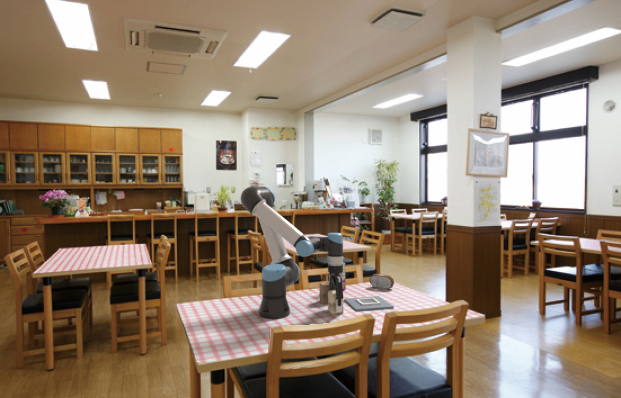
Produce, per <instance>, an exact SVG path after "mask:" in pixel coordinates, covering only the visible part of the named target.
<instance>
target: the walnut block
mask: <svg viewBox="0 0 621 398" xmlns="http://www.w3.org/2000/svg"><path fill="white" fill-rule="evenodd" d="M328 291H329V281H325V282H324V281H321V282H319V302H320V303H321V304H322V305H323V304H324V305H325V304H328Z"/></svg>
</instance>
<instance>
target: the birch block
mask: <svg viewBox="0 0 621 398" xmlns="http://www.w3.org/2000/svg"><path fill="white" fill-rule="evenodd" d="M335 298H337V297H336V290H330V291H328V303H327V306H328V311H329V313H330V314H331V315H334V314H335V315H336V314H337V315H338V314H344V298H343V299H342V312H339V313H336V299H335Z"/></svg>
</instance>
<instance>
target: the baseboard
mask: <svg viewBox="0 0 621 398" xmlns="http://www.w3.org/2000/svg"><path fill="white" fill-rule="evenodd" d="M363 298H375V299H376V300H378V301H379V302H380V303H381V304H378V305H365V306H362V305H361V304H360V303H358V302H357V301H356V299H363ZM343 302H345V303H347V305H348V306H350V307H351V308H352V309H353V310H354V311H355V312H363V310H366V311H377V309H379V310H385V309H384V308H391V309H394V307H395V306H394V305H393V304H391V303H390V302H388V301H387V300H385V299H384V298H382V297H381V296H380V295H378V296H363V297H349V298H348V297H347V298H343ZM361 302H362V303H376V302H375V301H373V300H363V301H361Z"/></svg>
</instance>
